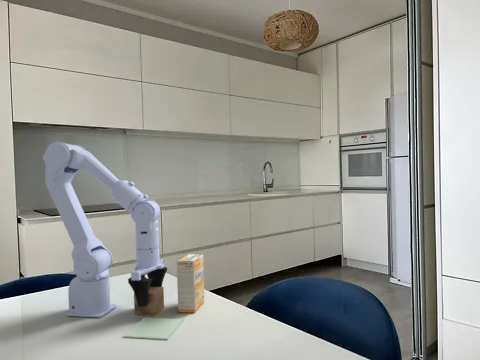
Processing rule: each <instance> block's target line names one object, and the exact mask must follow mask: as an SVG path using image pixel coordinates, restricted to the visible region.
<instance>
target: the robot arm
mask: <svg viewBox="0 0 480 360" xmlns="http://www.w3.org/2000/svg"><path fill="white" fill-rule="evenodd" d="M42 159H43V162H44V164H45V185H46V187H47V190H48V192H49V194H50V197H51V198H52V201H53V203H54V205H55V208H56V209H57V212H58V213H59V216H60V218H61V220H62V223H63V224H64V227H65V229H66V231H67V233H68V236H69V238H70V241H71V242H72V245H73V247H72V252H71V255H70V256H71V258H72V260H73V272H74V274H75V277H74V278H72V280H70V283H69V285H68V292H67V293H68V295H67V296H68V313H67V314H66V316H67V317H82V318H83V317H84V318H86V317H87V318H102V317H103V316H105V315H106V314H108V313H110V312H111V311H113V310H114V309H115V308H117V307H118V305H117V304H116V303H115V304H114V303H113V304H112V303H111V290H110V289H111V288H110V287H111V286H110V285H111V284H110V283H111V282H110V272H109V269H110V268H111V266H112V265H113V260H114V259H113V258H114V257H113V255H112V252H111V251H110V250H109V249H108V248H106V247H105V245H104V243H103V242H102V241H101V240H100V239H98V238H97V237H96V236H95V234H94V231H93V229H92V226H91V225H90V223H89V220H88V218H87V215H86V213H85V212H84V209H83V207H82V204H81V203H80V202H81V201H79V198H78V196H77V194H76V192H75V190H74V187H73V185H72V181H73V179H74V177H75V176H76V174H77V173H78V172H79V171H80V170H82V171H85V172H87V174H90V175H91V176H92V177H93V178H94V179H95V180H97V181H98V182H100V183H101V184H102V185H104V186H105V187H106V188H107V189H108V190H109V191H110V197H111V198H112V199H113V201H115V202H116V203H117V204H119V205H120V206H121V207H122V208H123V209H124V210H126V211H127V212H128V213H130V217H131V219H132V220H133V222H134V223H135V250H136V251H135V252H136V266H135V267H134V268H133V270H132V272H130V276H131V277H129V278H128V279H127V282H128V284H129V286H130V288H131V289H132V291H133V294H134V293H135V296H136V300H137V303H138V306H139V307H146V306H147V305H148V298H149V289H150V287H163V282H164V279H165V276H166V274H167V271H168V267H167V266H165V264H164V258H160V257H161V256H160V232H159V231H160V229H159V217H160V215H161V207H160V205H159V204H158V202H157V201H156V200H154V199H152V198H151V199H149V195H147V194H143V192H141V191H140V190H139V188H137V187H135V186H136V184H135V182H134V181H128V180H127V179H121V180H120V179H119V178H118V177H116V175H115V174H113V173H112V172H111V171H110V170H109V169H108V168H107V167H106V166H105V165H104V164H103V163H101V161H99V160H98V159H97V158H96V156H95V155H93V154H92V153H91V152H90V151H88V150H86V149H85V148H84V147H83V146H81V145H79V144H70V143H65V142H63V141H62V142H61V141H56V142H53V143H52V142H51V143H50V145H48V147H47V148H46V151H45V152H44V154H43V156H42ZM146 276H147V277H146Z"/></svg>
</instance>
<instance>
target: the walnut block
mask: <svg viewBox="0 0 480 360" xmlns="http://www.w3.org/2000/svg"><path fill="white" fill-rule="evenodd" d="M164 295H165V294H164V286H162V287H150V289H149V298H148V305H147V306H146V307H139V306H138V303H137V300H136V296H135V293H134V292H133V300H134V301H133V305H134V308H133V309H134V315H135V316H150V317H151V316H154V317H155V316H157V315H158V314H159V313H160V312H161V311H162V310H163V309H164V308H165V296H164Z"/></svg>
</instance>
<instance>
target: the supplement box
mask: <svg viewBox="0 0 480 360" xmlns="http://www.w3.org/2000/svg"><path fill="white" fill-rule="evenodd" d="M204 262H205V261H204V254H197V253H194V254H193V253H192V254H190V253H189V254H186V255H185V256H183V257H181V258H179V259H177V261H176V272H177V273H176V277H177V278H176V279H177V280H176V282H177V311H178V312H179V313H190V314H193V313H196V311H197V310H198V309H199V308H200V307H201V305H202V304H204V303H205V276H204V275H205V271H204V268H205V265H204V264H205V263H204Z"/></svg>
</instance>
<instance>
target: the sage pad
mask: <svg viewBox="0 0 480 360" xmlns="http://www.w3.org/2000/svg"><path fill="white" fill-rule="evenodd" d="M184 321H185V320H184V319H182V318H180V319H179V318H160V317H158V318H157V317H143V318H142V319H141V320H140V321H139V322H138V323H136V325H134V326H133V327H132V328H131V329H130V330H129V331H127V332H126V333H125V334H123V338H129V339H131V338H132V339H148V340H163V341H168V340H169V339H170V338H171V336H173V335H174V333H175V332H176V331H177V329H179V327H180V326H181V325H182V324H183V323H184Z"/></svg>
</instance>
